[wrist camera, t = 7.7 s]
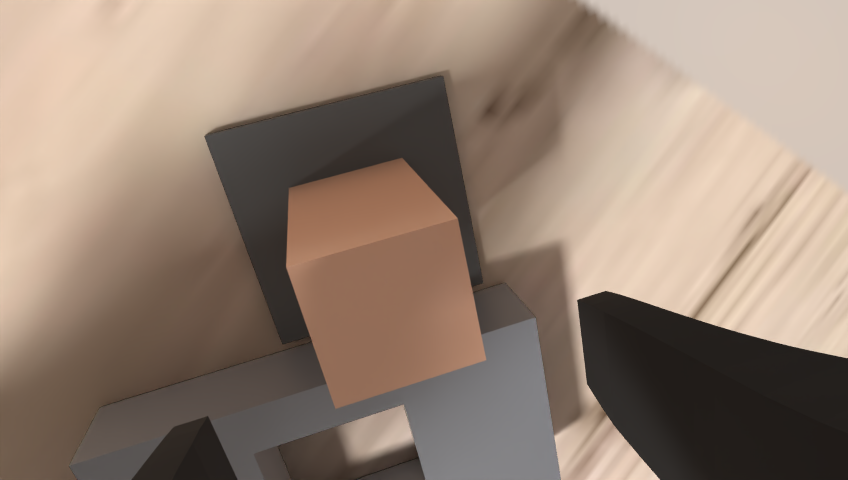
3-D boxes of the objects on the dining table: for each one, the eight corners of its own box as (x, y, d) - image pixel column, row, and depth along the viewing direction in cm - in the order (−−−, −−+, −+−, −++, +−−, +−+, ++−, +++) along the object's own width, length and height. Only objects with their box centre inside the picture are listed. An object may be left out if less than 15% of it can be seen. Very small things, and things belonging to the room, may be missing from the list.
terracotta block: (401, 157, 19) (457, 218, 12) (425, 259, 20) (486, 360, 14) (288, 188, 18) (286, 267, 12) (321, 290, 20) (335, 408, 13)
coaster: (440, 75, 19) (443, 76, 18) (480, 278, 22) (483, 282, 21) (206, 134, 18) (204, 136, 17) (282, 339, 21) (282, 344, 20)
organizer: (505, 282, 22) (535, 317, 19) (534, 449, 25) (564, 498, 23) (99, 407, 20) (68, 466, 17) (191, 570, 23) (177, 640, 21)
